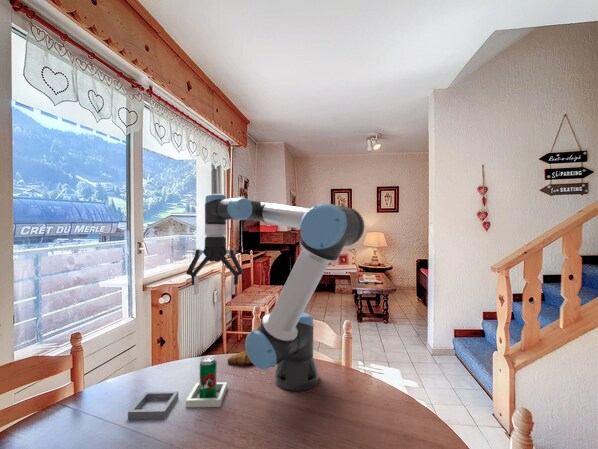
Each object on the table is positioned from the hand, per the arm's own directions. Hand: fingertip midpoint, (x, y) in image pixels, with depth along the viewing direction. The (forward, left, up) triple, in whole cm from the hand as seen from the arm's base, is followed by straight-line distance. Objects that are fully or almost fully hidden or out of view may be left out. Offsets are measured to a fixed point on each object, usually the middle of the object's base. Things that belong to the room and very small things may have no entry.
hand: (214, 293), depth 107 cm
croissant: (-10, -8, -29) cm, 32 cm away
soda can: (-2, +16, -29) cm, 33 cm away
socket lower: (-2, +16, -29) cm, 33 cm away
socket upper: (+12, +21, -29) cm, 38 cm away
